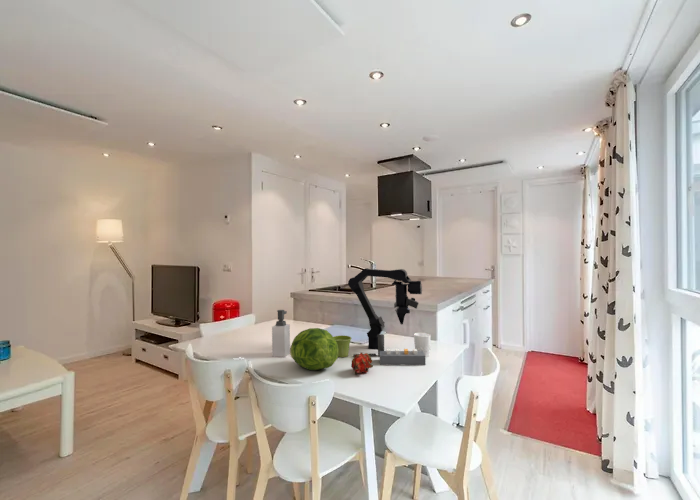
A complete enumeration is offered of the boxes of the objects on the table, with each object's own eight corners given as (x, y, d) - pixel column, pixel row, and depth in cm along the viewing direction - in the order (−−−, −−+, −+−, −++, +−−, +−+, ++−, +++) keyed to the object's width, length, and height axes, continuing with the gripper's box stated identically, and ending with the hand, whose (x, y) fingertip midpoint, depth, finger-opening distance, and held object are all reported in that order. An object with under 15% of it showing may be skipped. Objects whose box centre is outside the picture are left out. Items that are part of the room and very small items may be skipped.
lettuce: (307, 338, 163) (282, 322, 150) (347, 335, 151) (323, 318, 139) (298, 376, 152) (271, 362, 140) (340, 376, 140) (314, 361, 128)
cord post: (378, 356, 159) (377, 335, 159) (378, 354, 162) (377, 334, 162) (384, 356, 158) (384, 335, 158) (384, 354, 161) (383, 334, 161)
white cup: (431, 358, 156) (430, 336, 156) (414, 357, 157) (413, 336, 157) (430, 353, 163) (430, 332, 163) (414, 352, 165) (414, 332, 165)
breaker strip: (380, 364, 148) (379, 352, 148) (379, 359, 155) (379, 347, 155) (425, 364, 146) (425, 352, 146) (422, 359, 153) (422, 347, 153)
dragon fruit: (370, 371, 144) (357, 384, 134) (356, 357, 147) (341, 370, 137) (380, 358, 141) (366, 371, 130) (364, 344, 144) (350, 356, 133)
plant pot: (354, 354, 163) (354, 336, 163) (346, 359, 155) (346, 341, 155) (337, 351, 167) (337, 334, 167) (328, 357, 159) (328, 339, 159)
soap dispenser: (291, 351, 168) (291, 308, 168) (284, 357, 160) (284, 311, 160) (279, 351, 170) (279, 308, 170) (272, 356, 161) (271, 311, 161)
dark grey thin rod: (353, 357, 158) (353, 354, 158) (353, 356, 160) (352, 353, 160) (376, 356, 159) (376, 353, 159) (376, 355, 161) (375, 353, 161)
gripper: (420, 296, 160) (420, 328, 160) (414, 291, 178) (415, 320, 178) (396, 296, 160) (397, 328, 160) (393, 291, 179) (394, 320, 179)
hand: (401, 324), depth 169 cm, fingers closed
